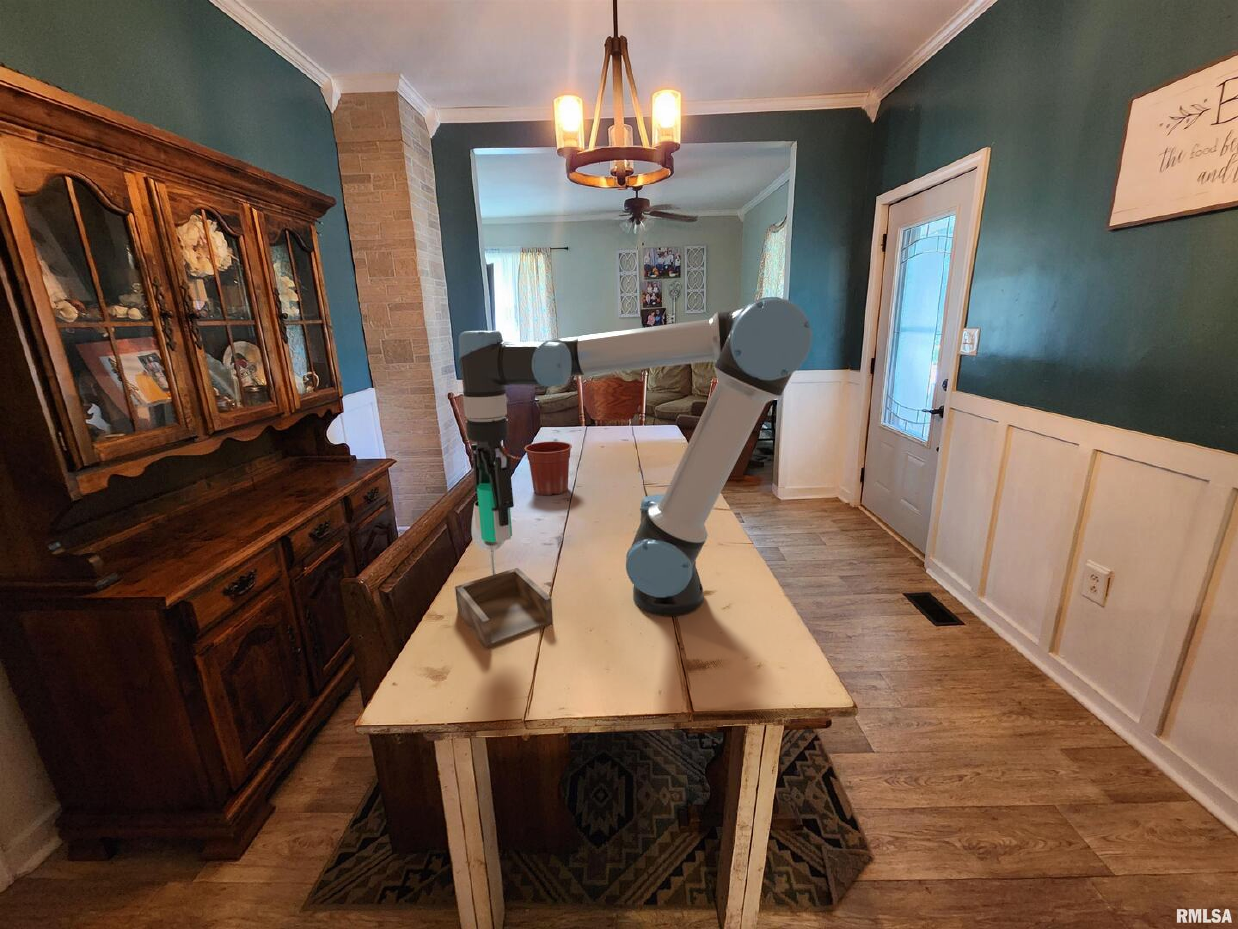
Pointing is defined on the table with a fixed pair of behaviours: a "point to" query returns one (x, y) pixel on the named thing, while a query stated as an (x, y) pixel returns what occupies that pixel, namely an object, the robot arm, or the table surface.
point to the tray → (503, 607)
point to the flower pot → (549, 466)
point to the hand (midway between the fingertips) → (496, 534)
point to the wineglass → (478, 539)
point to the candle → (487, 512)
